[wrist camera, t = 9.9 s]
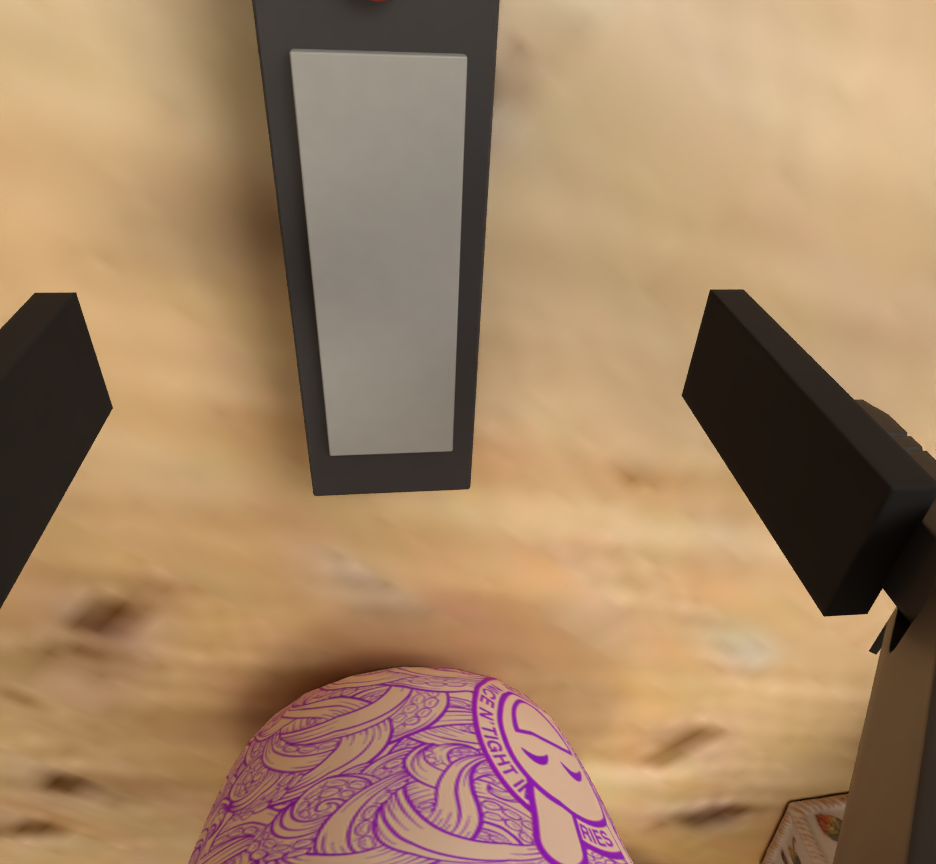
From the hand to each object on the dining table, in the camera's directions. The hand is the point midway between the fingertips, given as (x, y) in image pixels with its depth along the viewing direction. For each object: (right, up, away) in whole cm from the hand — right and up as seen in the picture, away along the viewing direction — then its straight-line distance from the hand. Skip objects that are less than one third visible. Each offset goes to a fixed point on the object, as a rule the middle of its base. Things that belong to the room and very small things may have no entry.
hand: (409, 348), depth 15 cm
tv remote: (-1, +5, +5) cm, 7 cm away
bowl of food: (-2, -16, +21) cm, 27 cm away
